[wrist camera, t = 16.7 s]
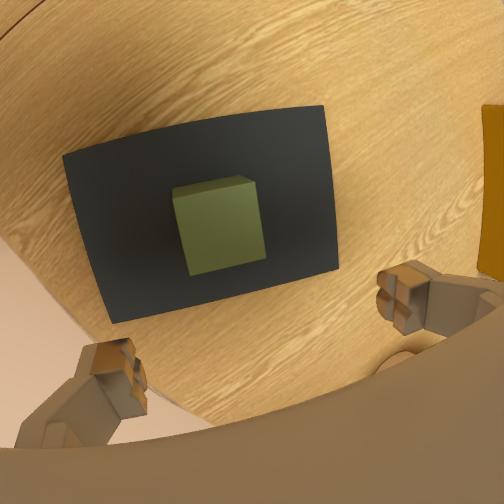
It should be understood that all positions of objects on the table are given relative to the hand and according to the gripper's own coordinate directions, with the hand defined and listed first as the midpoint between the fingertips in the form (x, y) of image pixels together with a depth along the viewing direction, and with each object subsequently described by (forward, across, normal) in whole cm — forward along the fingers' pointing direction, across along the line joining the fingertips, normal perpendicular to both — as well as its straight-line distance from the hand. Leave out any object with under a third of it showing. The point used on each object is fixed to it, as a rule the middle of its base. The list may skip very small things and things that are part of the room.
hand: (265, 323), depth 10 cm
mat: (+16, 0, 0) cm, 16 cm away
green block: (+15, 0, 0) cm, 15 cm away
